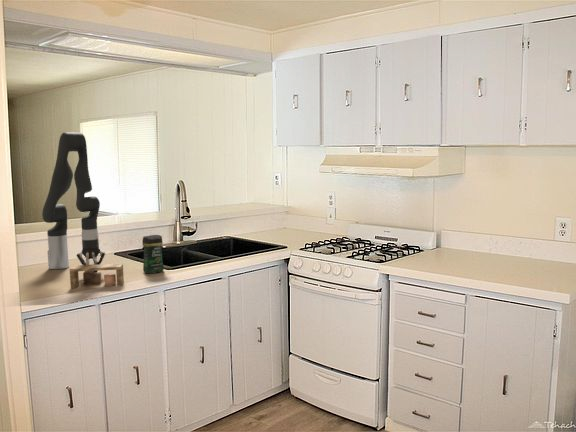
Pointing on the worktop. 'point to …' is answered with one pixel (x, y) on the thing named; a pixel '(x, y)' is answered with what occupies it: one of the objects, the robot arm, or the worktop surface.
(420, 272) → the worktop surface
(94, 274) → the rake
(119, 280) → the shelf
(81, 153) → the robot arm
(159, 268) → the coffee jar
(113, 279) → the reddish brown block
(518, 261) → the worktop surface
